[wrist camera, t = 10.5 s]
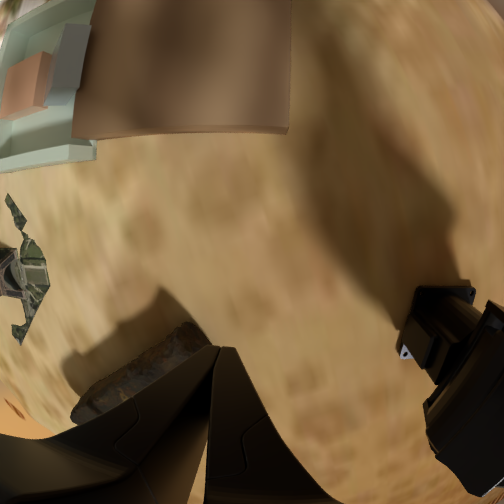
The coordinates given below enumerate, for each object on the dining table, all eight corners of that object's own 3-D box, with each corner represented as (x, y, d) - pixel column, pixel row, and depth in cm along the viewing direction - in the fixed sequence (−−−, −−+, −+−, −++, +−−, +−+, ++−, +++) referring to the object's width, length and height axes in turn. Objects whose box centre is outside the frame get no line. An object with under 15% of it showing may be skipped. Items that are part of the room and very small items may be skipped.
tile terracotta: (7, 68, 14) (21, 72, 16) (-1, 119, 15) (13, 120, 17) (42, 50, 14) (56, 56, 16) (32, 105, 15) (47, 108, 17)
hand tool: (191, 311, 22) (172, 343, 17) (222, 349, 22) (211, 386, 18) (69, 381, 25) (48, 405, 21) (93, 407, 26) (75, 433, 21)
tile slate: (91, 25, 13) (65, 23, 11) (79, 87, 14) (51, 87, 12) (74, 51, 16) (53, 50, 14) (65, 105, 17) (43, 106, 16)
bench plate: (288, -9, 15) (290, -31, 12) (285, 134, 18) (288, 127, 15) (114, 9, 15) (98, -5, 12) (94, 140, 18) (71, 137, 15)
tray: (120, -4, 15) (102, -22, 11) (95, 159, 19) (68, 159, 15) (29, 33, 15) (8, 24, 12) (7, 172, 19) (-18, 175, 16)
